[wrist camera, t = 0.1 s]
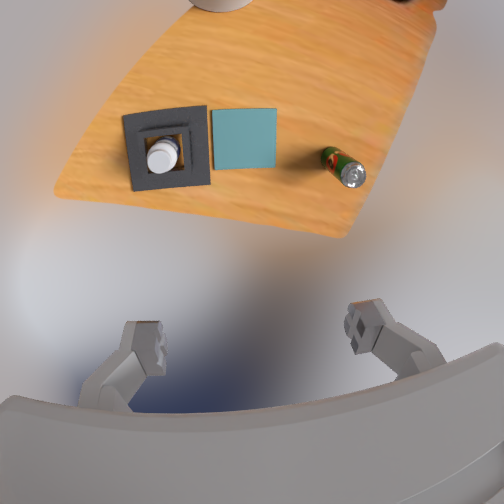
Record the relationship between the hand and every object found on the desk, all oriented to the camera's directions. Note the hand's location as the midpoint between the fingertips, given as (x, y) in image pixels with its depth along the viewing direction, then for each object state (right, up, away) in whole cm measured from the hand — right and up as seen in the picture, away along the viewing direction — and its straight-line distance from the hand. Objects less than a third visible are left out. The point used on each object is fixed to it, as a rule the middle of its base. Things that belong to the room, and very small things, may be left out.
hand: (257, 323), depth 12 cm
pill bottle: (-17, +23, +40) cm, 49 cm away
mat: (-2, +25, +41) cm, 48 cm away
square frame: (-16, +23, +40) cm, 49 cm away
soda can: (+16, +23, +45) cm, 53 cm away
